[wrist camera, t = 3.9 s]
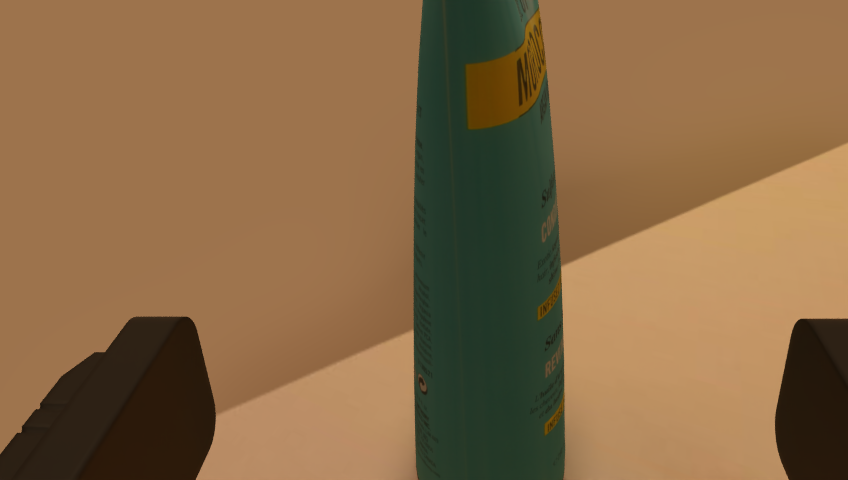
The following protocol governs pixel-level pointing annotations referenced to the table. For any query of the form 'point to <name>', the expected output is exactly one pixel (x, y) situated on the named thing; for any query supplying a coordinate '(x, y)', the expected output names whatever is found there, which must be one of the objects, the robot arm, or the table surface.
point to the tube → (486, 248)
